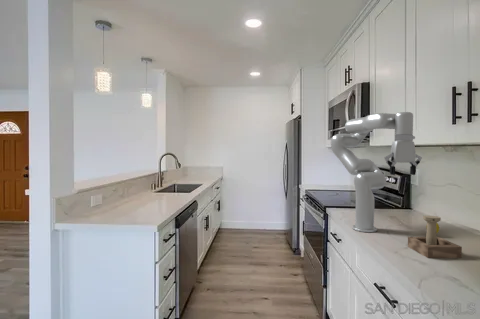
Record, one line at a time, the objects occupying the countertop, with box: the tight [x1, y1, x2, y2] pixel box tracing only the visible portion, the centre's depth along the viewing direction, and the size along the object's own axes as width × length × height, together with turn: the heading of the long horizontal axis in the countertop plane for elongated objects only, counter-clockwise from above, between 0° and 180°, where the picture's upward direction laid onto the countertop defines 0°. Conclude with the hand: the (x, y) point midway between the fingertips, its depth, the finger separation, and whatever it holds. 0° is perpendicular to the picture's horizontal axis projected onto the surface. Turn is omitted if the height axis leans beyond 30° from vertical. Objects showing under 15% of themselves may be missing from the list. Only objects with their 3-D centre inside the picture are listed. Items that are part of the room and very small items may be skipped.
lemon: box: [425, 222, 440, 234], centre depth 153 cm, size 6×6×8 cm
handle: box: [422, 215, 442, 245], centre depth 129 cm, size 5×6×15 cm
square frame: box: [407, 236, 463, 259], centre depth 128 cm, size 14×14×4 cm
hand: (402, 174), depth 141 cm, fingers open, 9 cm apart
